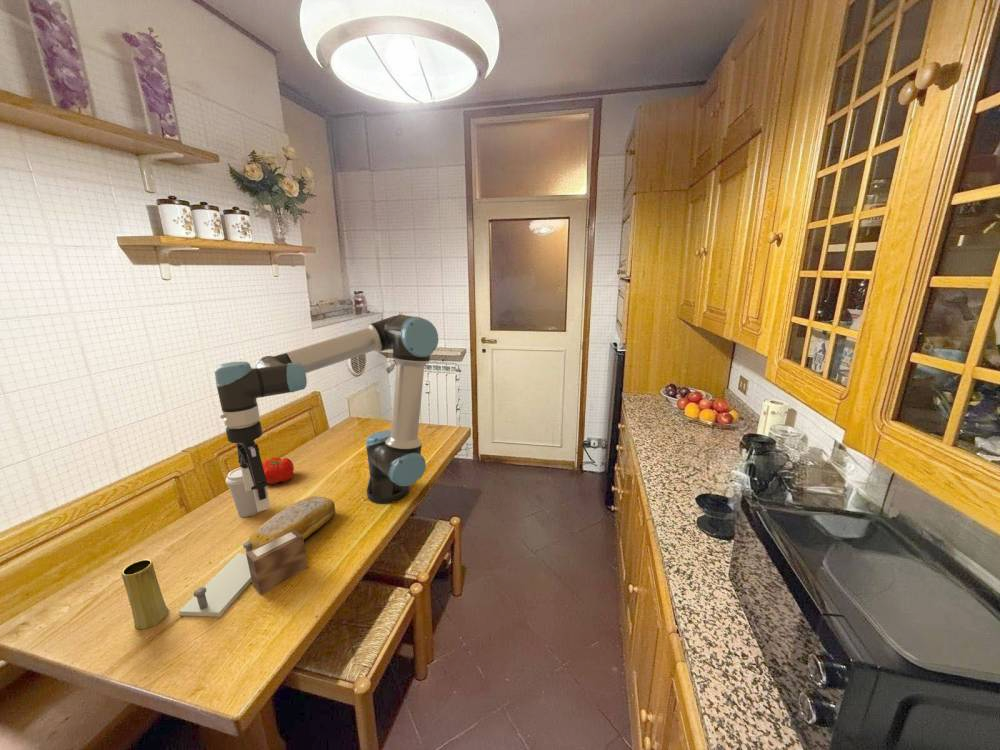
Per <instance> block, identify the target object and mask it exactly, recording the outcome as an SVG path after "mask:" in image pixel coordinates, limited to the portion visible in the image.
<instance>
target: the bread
mask: <svg viewBox="0 0 1000 750" xmlns="http://www.w3.org/2000/svg"><path fill="white" fill-rule="evenodd" d="M335 513H336V506H335V502H334V501H333V500H332V499H330V498H327V497H325V496H324V497H323V496H318V495H317V496H316V495H314V496H307V497H305V498H302V499H301V500H299V501H296V502H294V503H292V504H290V505H289V506H287V507H285V508H284V509H282V510H281V511H279V512H276V514H275V515H273V516H272V517H271V518H269V519H268V520H266V521H265V522H264V523H263V524H262V525H260V526H259V527H258V528H257V529H256V530H255V531H254V532H252V533H251V535H250V536H249V539H248V541H249V542H250V543H251V544H252V546H251V547H252V550H253V549H255V548H257V547H259V546H261V545H263V544H265V543H267V542H269V541H271V540H273V539H275V538H277V537H279V536H281V535H283V534H285V533H287V532H289V531H291V530H293V529H294V530H296V531H297V532H298V533H299V534H301V535H302V536H303V540H304V541H305V539H307V538H308V537H309V536H310V535H311V534H313V533H314V532H316V531H317V530H318V529H320V528H322V527H323V526H324V525H325V524H326V523H328V522H329V520H331V519H332V517H334V516H335Z"/></svg>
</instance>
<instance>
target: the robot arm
mask: <svg viewBox="0 0 1000 750" xmlns="http://www.w3.org/2000/svg"><path fill="white" fill-rule="evenodd" d="M438 344H439V333H438V331H437V328H436V326H435V325H434V324H433V323H432V322H431V321H430V320H428V319H426V318H423V317H420V316H411V315H405V314H396V315H392V316H389V317H386V318H383V319H381V320H378V321H376V322H372V323H369V324H367V325H366V328H363V329H360V330H359V329H358V330H357V331H353V332H349V333H347V334H343V335H340V336H337V337H333V338H330V339H327V340H323V341H320V342H317V343H314V344H310V345H306V346H304V347H300V348H298V349H293V350H290V351H287V352H285V353H281V354H277V355H274V356H272V355H266V356H262V357H260V358H259V359H257V360H256V362H255V364H254V367H252V366H251V364H250V362H248V361H231V362H226V363H225V362H224V363H222V364H219V365H217V366H216V367H215V369H214V376H215V385H216V389H217V395H218V398H219V403H220V409H221V411H222V414H220V416H219V417H220V419H222V420H223V421H224V425H225V426H226V428H225V433H226V438H227V441H228V442H229V443H231V444H236V448H237V449H236V450H237V459H238V461H237V462H238V463H239V466H240V467H241V468H243V469H241V470H242V475H243V480H244V485H245V490H246V491H249V490H254V495H255V500H256V505H257V510H258V513H260V512H261V511H262V512H263V511H265V510H269V509H270V508H271V504H270V500H269V499H270V498H269V493H268V488H267V487H268V486H269V483H268V482H267V480H266V476H265V472H264V469H263V465H262V463H263V462H262V461H263V460H262V458H261V454H260V448H259V446H258V443H256V441H255V440H257V439H259V438H261V437H262V435H263V429H262V422H261V421H260V419H261V416H260V410H259V405H258V402H257V399H259V398H265V397H270V396H277V395H278V396H279V395H283V394H290V393H294V392H299V391H302V390H303V391H304V389H306V387H307V385H308V384H307V383H308V380H307V374H308V373H311V372H314V371H317V370H321V369H322V368H326V367H329V366H331V365H334V364H335V365H336V364H338V363H341V362H344V361H346V360H349V359H353V358H355V357H359V356H362V355H364V354H368V353H371V352H373V351H374V352H377V353H380V352H383V351H387V350H392V359H393V360H394V362H395V364H396V369H395V370H396V371H395V382H394V394H393V405H392V416H391V418H392V419H391V428H390V429H387V430H381V431H380V430H379V431H376V432H373V433H371V434H370V435H368V436H367V437H366V440H365V447H366V454H367V462H368V470H369V478H368V482H367V487H366V497H367V499H368V501H370V502H372V503H375V504H390V503H394V502H398V501H400V500H402V499H404V498H405V497H406V496H408V495H409V493H410V490H411V485H413V484H415V483H417V482H418V480H420V479H421V478H422V477H423V476H424V474H425V471H426V468H427V463H426V460H425V457H424V456H423V455H422V445H423V443H422V441H421V439H420V438H419V425H420V417H421V407H422V406H421V405H422V396H423V395H422V394H423V385H424V376H425V375H424V373H425V366H426V365H427V364H429V363H430V362H431V355H432V354H433V353H434V351H435V350H436V349H437V347H438ZM240 467H239V468H240Z"/></svg>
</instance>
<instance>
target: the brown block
mask: <svg viewBox="0 0 1000 750" xmlns="http://www.w3.org/2000/svg"><path fill="white" fill-rule="evenodd" d="M304 541H305V539H304V540H303V536H302V535H301V534H299V533H298V532H297V531H296V530H294V529H293V530H291V531H289V532H287V533H285V534H283V535H281V536H279V537H277V538H275V539H273V540H271V541H269V542H267V543H265V544H263V545H261V546H259V547H257V548H255V549H253V550H251V551H249V552H247V553H245V554H246V556H247V561H248V565H249V570H250V575H251V579H252V581H251V583H252V587H253V588H254V589H255V590H256V592H258V594H259V595H260V596H262V595H264V594H266V593H267V592H269V591H271V590H273V589H274V588H276V587H278V586H279V585H281V584H283V583H284V582H287V581H288V580H290V579H291V578H293V577H296V576H297V575H298V574H300V573H302V572H303V571H306V569H309V564H308V560H307V554H306V553H307V552H306V547H305V542H304Z"/></svg>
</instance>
